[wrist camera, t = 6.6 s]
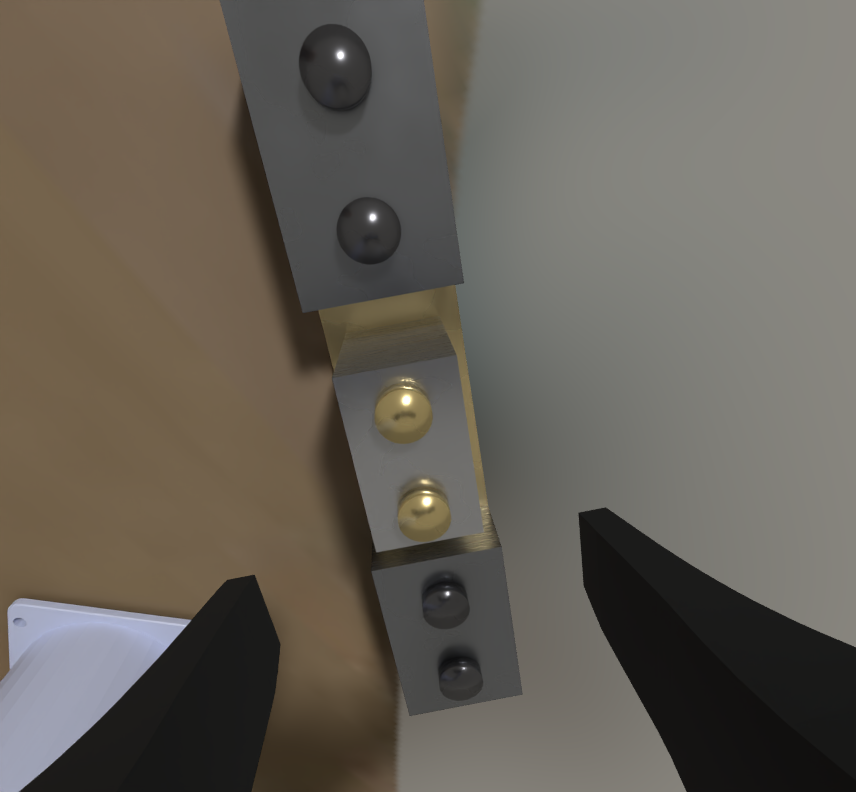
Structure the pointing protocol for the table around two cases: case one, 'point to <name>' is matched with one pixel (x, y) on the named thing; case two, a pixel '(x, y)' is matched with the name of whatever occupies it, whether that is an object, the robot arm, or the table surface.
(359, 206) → the studded link strip
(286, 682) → the table surface
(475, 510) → the block with brass knobs
